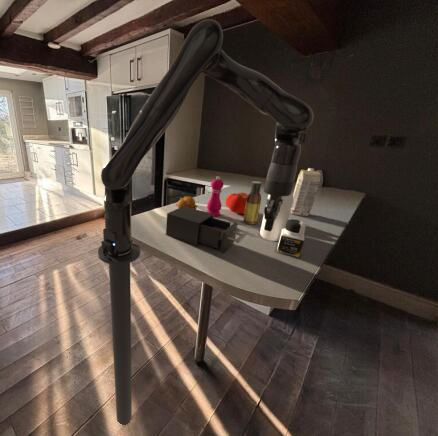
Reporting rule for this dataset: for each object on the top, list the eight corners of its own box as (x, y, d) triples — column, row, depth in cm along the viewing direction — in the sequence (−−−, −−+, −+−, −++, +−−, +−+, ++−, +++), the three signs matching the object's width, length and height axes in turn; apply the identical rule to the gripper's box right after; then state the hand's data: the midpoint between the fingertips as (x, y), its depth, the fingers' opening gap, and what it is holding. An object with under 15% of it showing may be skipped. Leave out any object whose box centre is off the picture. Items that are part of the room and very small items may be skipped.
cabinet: (211, 235, 98) (214, 214, 94) (196, 245, 89) (199, 223, 85) (181, 225, 107) (183, 205, 103) (165, 234, 98) (167, 213, 94)
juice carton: (308, 212, 126) (321, 168, 117) (309, 217, 119) (324, 171, 110) (288, 209, 130) (300, 166, 121) (289, 214, 123) (301, 169, 114)
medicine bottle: (276, 251, 86) (284, 222, 82) (278, 244, 92) (285, 216, 87) (299, 257, 83) (308, 227, 78) (299, 249, 88) (308, 220, 84)
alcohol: (255, 234, 99) (270, 164, 88) (267, 230, 103) (284, 162, 92) (274, 243, 92) (293, 167, 81) (287, 238, 96) (307, 166, 85)
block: (218, 243, 87) (220, 232, 86) (208, 239, 90) (209, 229, 88) (223, 239, 90) (225, 229, 89) (212, 235, 93) (214, 226, 91)
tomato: (235, 205, 135) (238, 188, 131) (260, 214, 122) (264, 196, 118) (218, 209, 128) (220, 192, 124) (243, 219, 115) (246, 200, 111)
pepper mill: (217, 217, 116) (223, 178, 109) (204, 214, 120) (208, 176, 112) (221, 213, 122) (227, 175, 115) (208, 210, 126) (213, 174, 118)
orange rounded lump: (201, 212, 123) (201, 195, 118) (190, 222, 117) (189, 205, 111) (185, 207, 129) (184, 191, 124) (174, 216, 123) (172, 200, 117)
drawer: (245, 244, 89) (249, 226, 86) (234, 256, 81) (238, 236, 78) (203, 231, 99) (205, 214, 96) (190, 240, 91) (191, 222, 88)
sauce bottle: (251, 219, 115) (259, 180, 108) (259, 224, 110) (268, 183, 102) (239, 220, 114) (247, 180, 106) (247, 225, 108) (255, 183, 101)
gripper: (272, 173, 77) (261, 221, 83) (260, 179, 67) (249, 233, 74) (298, 176, 72) (284, 227, 79) (289, 184, 63) (275, 240, 70)
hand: (268, 230), depth 76 cm, fingers closed
